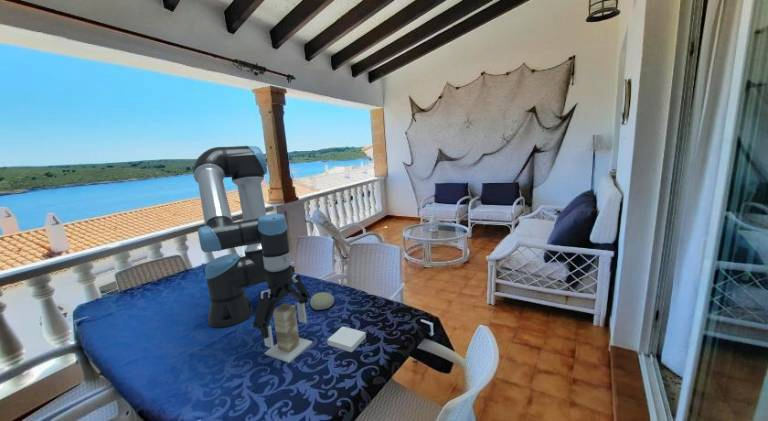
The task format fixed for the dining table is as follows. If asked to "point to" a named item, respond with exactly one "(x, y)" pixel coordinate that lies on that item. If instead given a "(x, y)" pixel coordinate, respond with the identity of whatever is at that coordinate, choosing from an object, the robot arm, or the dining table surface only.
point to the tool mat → (293, 354)
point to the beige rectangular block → (286, 327)
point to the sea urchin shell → (321, 301)
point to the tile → (346, 339)
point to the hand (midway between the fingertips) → (287, 333)
